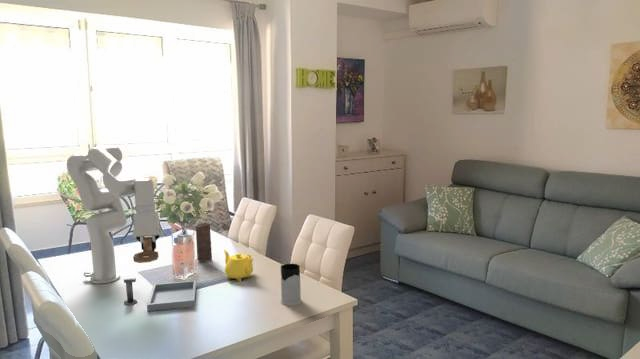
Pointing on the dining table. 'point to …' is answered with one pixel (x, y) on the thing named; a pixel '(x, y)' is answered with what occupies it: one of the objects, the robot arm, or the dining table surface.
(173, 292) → the tray
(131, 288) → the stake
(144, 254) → the ring
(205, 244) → the candle
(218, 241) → the dining table surface
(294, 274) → the glass holder
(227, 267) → the teapot
